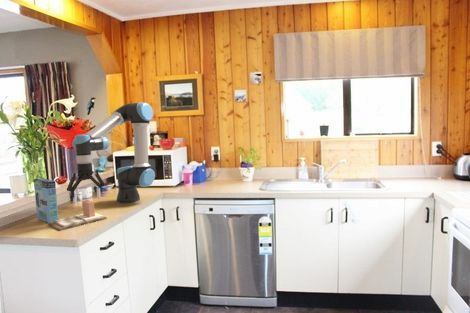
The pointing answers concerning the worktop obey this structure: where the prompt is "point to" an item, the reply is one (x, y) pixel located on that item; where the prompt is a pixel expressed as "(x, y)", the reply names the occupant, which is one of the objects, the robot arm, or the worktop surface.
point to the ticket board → (71, 222)
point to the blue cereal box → (46, 200)
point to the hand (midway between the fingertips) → (87, 201)
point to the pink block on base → (89, 211)
